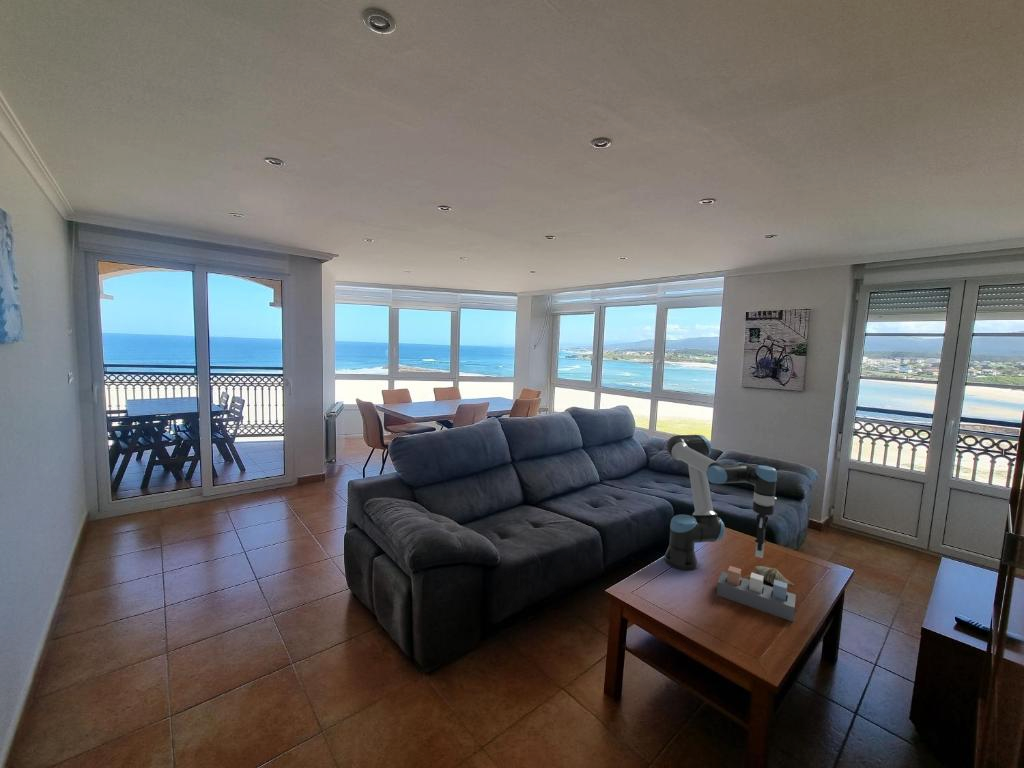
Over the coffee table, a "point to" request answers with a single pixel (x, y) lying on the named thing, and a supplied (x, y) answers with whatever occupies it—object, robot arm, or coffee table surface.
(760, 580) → the white key
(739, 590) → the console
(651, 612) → the coffee table surface
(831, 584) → the coffee table surface
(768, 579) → the seashell
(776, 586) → the blue key
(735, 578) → the salmon brown block
